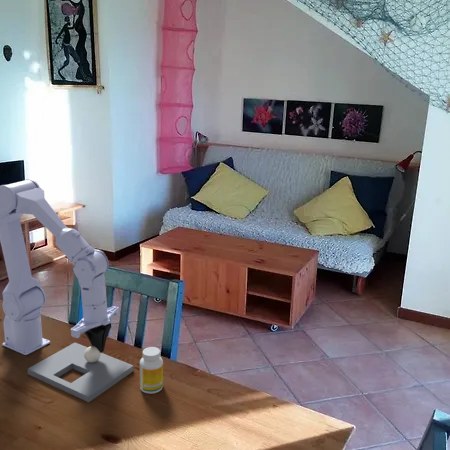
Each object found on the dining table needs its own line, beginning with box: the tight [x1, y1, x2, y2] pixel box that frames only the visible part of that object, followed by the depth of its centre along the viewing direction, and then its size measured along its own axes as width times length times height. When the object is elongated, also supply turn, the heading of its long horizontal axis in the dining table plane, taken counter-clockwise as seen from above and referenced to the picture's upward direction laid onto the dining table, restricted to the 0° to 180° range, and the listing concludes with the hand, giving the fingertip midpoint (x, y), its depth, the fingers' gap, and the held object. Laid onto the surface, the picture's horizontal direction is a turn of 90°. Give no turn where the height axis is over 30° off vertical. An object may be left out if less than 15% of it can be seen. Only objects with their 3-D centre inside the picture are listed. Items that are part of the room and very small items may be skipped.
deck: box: [27, 342, 134, 403], centre depth 123 cm, size 20×15×2 cm
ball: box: [84, 345, 101, 363], centre depth 125 cm, size 4×4×4 cm
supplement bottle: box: [139, 346, 164, 395], centre depth 117 cm, size 5×5×10 cm
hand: (98, 351), depth 126 cm, fingers closed, pressing on ball
